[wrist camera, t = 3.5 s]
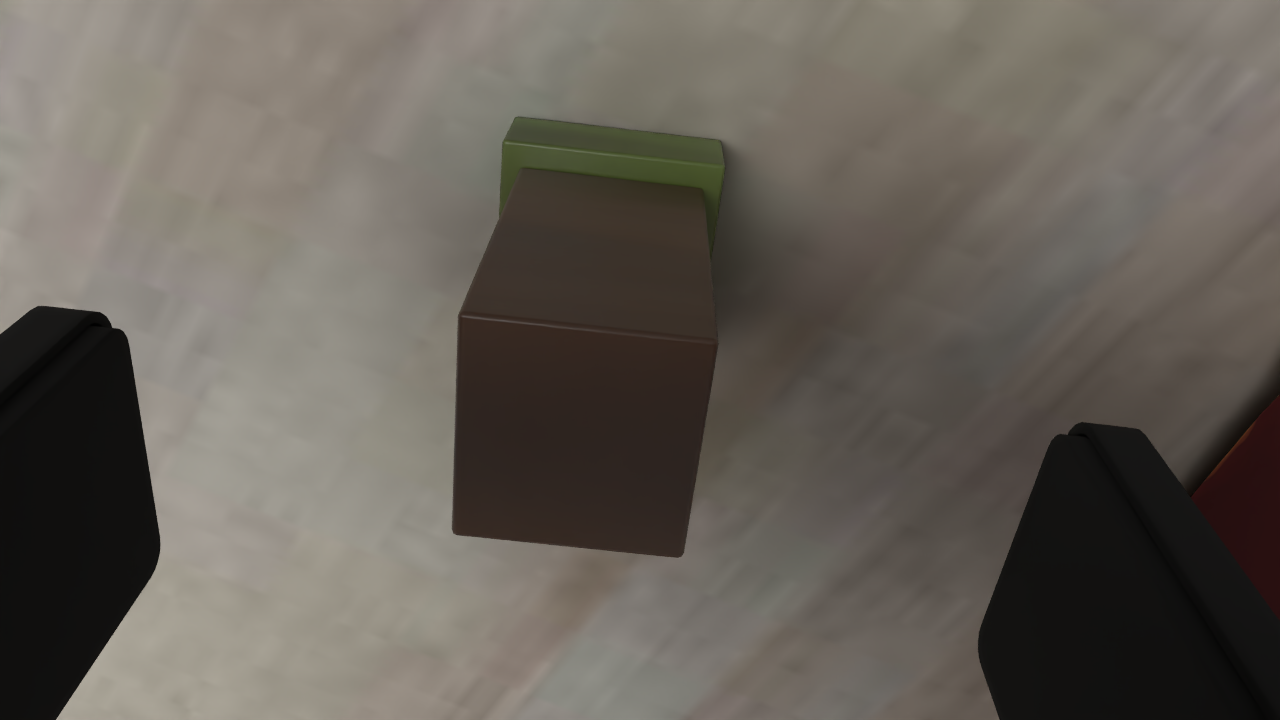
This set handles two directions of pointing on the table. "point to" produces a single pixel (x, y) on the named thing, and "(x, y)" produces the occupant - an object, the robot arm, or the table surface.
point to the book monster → (1250, 503)
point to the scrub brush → (589, 341)
